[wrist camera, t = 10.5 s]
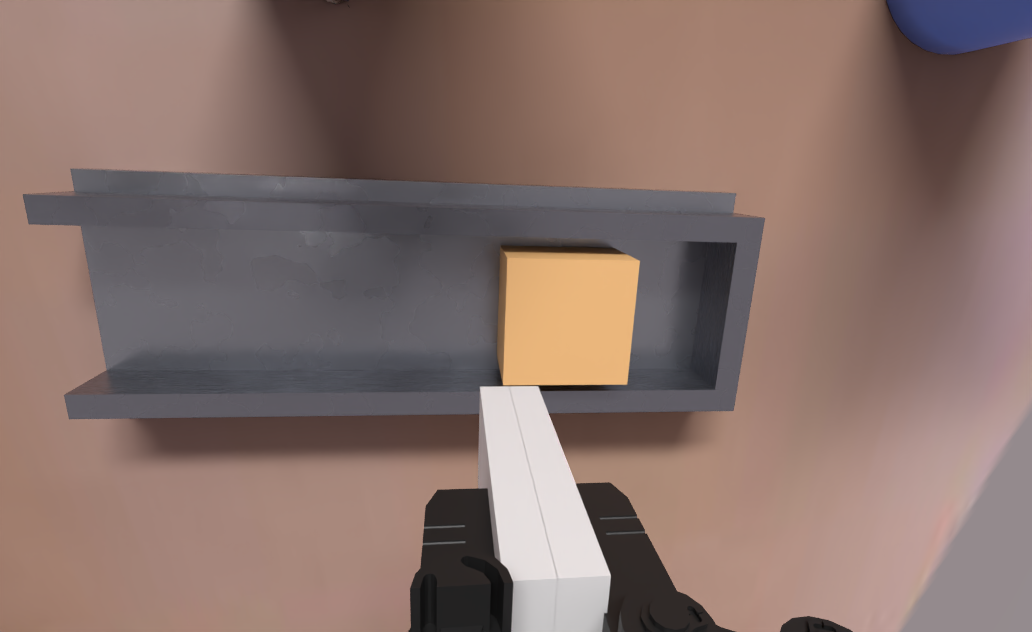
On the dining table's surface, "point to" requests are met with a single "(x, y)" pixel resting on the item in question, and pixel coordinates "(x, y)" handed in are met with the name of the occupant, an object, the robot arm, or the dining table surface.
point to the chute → (382, 292)
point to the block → (565, 315)
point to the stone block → (336, 1)
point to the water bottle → (962, 23)
